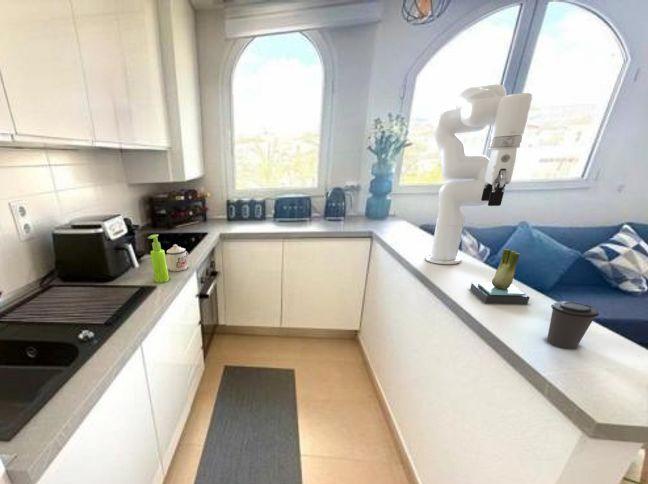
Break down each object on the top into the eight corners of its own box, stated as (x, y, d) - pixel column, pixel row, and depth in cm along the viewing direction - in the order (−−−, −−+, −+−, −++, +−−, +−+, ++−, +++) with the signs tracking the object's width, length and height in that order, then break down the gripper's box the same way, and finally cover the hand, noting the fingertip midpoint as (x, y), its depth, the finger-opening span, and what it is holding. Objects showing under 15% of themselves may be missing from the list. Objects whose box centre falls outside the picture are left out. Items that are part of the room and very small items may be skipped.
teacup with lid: (178, 272, 159) (175, 247, 154) (165, 270, 164) (161, 246, 159) (195, 265, 167) (192, 241, 163) (182, 263, 173) (179, 240, 168)
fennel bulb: (511, 291, 104) (523, 252, 99) (491, 290, 106) (502, 252, 101) (508, 285, 108) (519, 248, 103) (489, 284, 110) (498, 247, 105)
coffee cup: (594, 347, 80) (611, 308, 76) (569, 354, 78) (584, 315, 74) (555, 332, 87) (568, 296, 83) (531, 339, 85) (543, 302, 81)
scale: (470, 289, 116) (471, 281, 114) (508, 290, 113) (510, 282, 112) (484, 303, 105) (487, 294, 104) (527, 304, 102) (530, 295, 101)
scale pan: (477, 284, 112) (478, 282, 112) (509, 284, 110) (510, 282, 110) (490, 295, 104) (490, 293, 104) (525, 295, 102) (525, 293, 102)
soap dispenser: (151, 283, 148) (143, 236, 140) (160, 277, 154) (152, 233, 145) (163, 283, 146) (155, 236, 138) (171, 278, 152) (164, 233, 143)
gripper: (530, 142, 93) (512, 207, 100) (512, 141, 107) (497, 198, 114) (496, 145, 96) (481, 208, 103) (483, 143, 110) (471, 199, 117)
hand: (490, 203), depth 109 cm, fingers open, 9 cm apart
